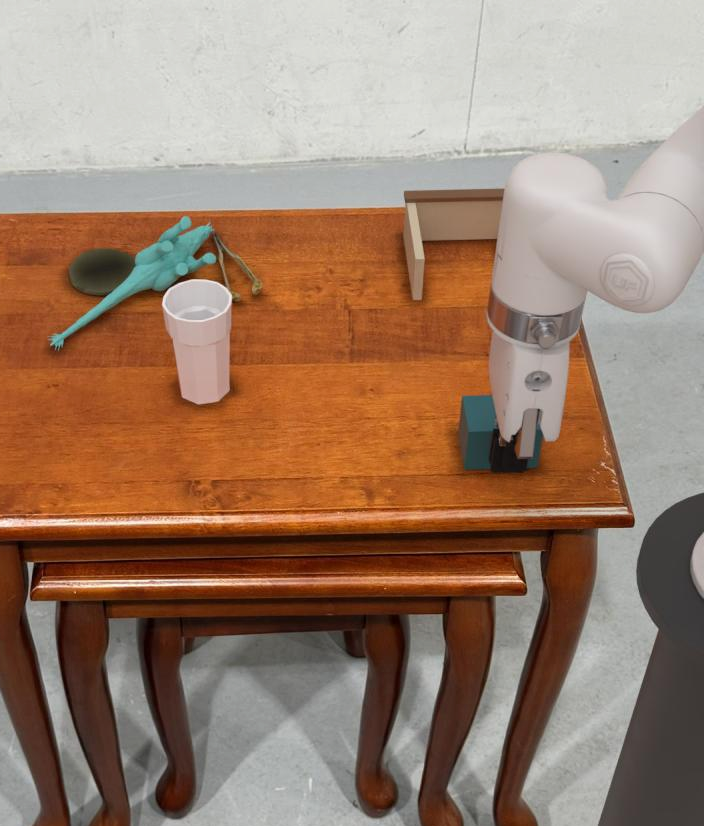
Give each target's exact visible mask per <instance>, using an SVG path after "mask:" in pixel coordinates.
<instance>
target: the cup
mask: <svg viewBox="0 0 704 826" xmlns="http://www.w3.org/2000/svg"><path fill="white" fill-rule="evenodd" d="M161 307H162V313H163V320H164V324H165V330H166V331H167V333H168V335H169V336H170V338H171V342H172V343H171V344H172V347H173V348H172V349H173V353H174V355H173V356H174V360H175V367H176V371H177V378H178V387H179V390H180V395H181V398H183V399H184V400H187V401H189V402H191V403H194V404H196V405H198V406H199V405H204V404H205V405H206V404H211V403H213V404H214V403H218V402H220V401H221V400H222V399H223V398H224V397H225V396H226V395H227V394H228V393H229V392H230V391H231V389H230V385H231V384H230V351H231V350H230V349H231V348H230V347H231V343H230V342H231V341H230V340H231V339H230V338H231V337H230V336H231V334H230V333H231V330H232V325H233V324H232V323H233V299H232V295H231V293H230V292H229V291H228V289H227V288H226V286H224V285H223V284H221V283H220V282H219V281H214V280H209V279H199V278H198V279H189V280H185V281H181V282H178V283H176V284H174V285H173V286H170V287H168V288H167V291H166V292H165V294H164V295H163V297H162V302H161Z"/></svg>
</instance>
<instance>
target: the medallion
mask: <svg viewBox="0 0 704 826" xmlns="http://www.w3.org/2000/svg"><path fill="white" fill-rule="evenodd" d="M135 258H136V257H134V256H132V254H129V253H127V252H125V251H122V250H118V249H113V248H103V247H102V248H93V249H89V250H87V251H85V252H83V253H81V254H79V255H77V257H75V258H74V259H73V260H72V262H71V263H70V264H69V268H68V276H69V278H68V279H69V281H70V283H71V285H72V286H73V287H74V289H76V290H77V291H79V292H81V293H83V294H87V295H91V296H108V295H109V294H110V293H112V292H113V291H114V290H115V289H116V288H117V287H118V286H119V285H121V284H122V283H123V282H124V281H125V280H126V279H127V278H128V277H129V275H130V274H131V272H132V271H133V269H134V268H135V267H136V264H135Z"/></svg>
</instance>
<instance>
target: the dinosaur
mask: <svg viewBox="0 0 704 826" xmlns="http://www.w3.org/2000/svg"><path fill="white" fill-rule="evenodd" d="M210 225H211V222H210V221H209V222H208V223H207V224H206V225H200V226H197V227H196V228H194V229H192V230H189V229H190V228H191V226H192V219H191V218H190V217H189V216H187V215H184V216H182V217H181V219H180V221H179V222H177V223H175V225H173V226H172V227H170V228H168V229H167V230H165V231H164V232H163V233H161V235H160V237H159V238H158V239H157V242H155V243H153V244H151V245H150V246H148V247H146V248H144V249H141V250H140V251H139V252H137V253H136V255H135V257H134V258H135V264H136V267H135V268H134V269H133V271H132V272H131V274H130V275H129V277H128V278H127V279H126V280H125V281H124V282H123V283H122V284H121V285H119V286H118V287H117V288H116V289H115V290H114V291H113V292H112V293H110V294H107V295H105V297H104V298H103V299H102V300H101V301H100V302H98V304H97V305H95V306H94V307H92V308H91V309H89V310H88V311H87V312H86V313H84V315H82V316H81V317H79V318H78V319H77V320H76V322H74V323H73V324H72V325H70V326H69V327H67V329H66V330H64V331H63V332H62V333H60V334H59V333H52V335H49V336H48V338H49V339H47V341H51V343H50V347H53V346H55V348H54V351H56V350H57V351H59V350H60V347H63V346H64V340H65V339H66V338H68V337H69V336H71V335H73V334H74V333H75V332H77V331H78V330H80V329H81V328H84V327H85V326H87V325H88V324H89V323H91V322H92V321H94V320H96V319H97V318H98V317H99V316H100V315H102V314H104V313H105V312H107V311H109V310H110V309H112V308H114V307H116V306H117V305H118V304H120V303H122V302H123V301H125V300H126V299H128V298H130V297H131V296H134V295H135V294H137V293H139V292H143V291H147V290H150V289H152V290H153V291H155V292H164V291H166V290H167V289H169V288H170V287H172V285H173V284H174V283H175V282H177V281H178V280H179V278H181V277H183V276H185V275H189V274H192V273H195V272H197V271H198V270H199V269H202V268H204V267H205V266H207V265H214V264H216V263H217V256H216V255H215V254H213V252H207V253H205V254H204V255H202V256H201V257H200V258H198V259H196V258H195V257H194V255H195V253H196V252H197V251H198V250H199V249H200V247H201V246H202V245H203V243H204V242H206V241H207V240H208V239H209V238H210V234H211V232H212V233H213V232H215V230H216V229H215V228H213V225H211V226H210ZM187 230H189V231H187ZM185 231H187V232H185ZM183 232H185V233H184V234H181V233H183ZM179 234H180V235H179ZM57 348H58V349H57Z"/></svg>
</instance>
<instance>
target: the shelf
mask: <svg viewBox="0 0 704 826" xmlns="http://www.w3.org/2000/svg"><path fill="white" fill-rule="evenodd" d="M504 190H505V187H504V188H466V189H465V188H463V189H460V188H459V189H421V190H419V189H418V190H404V191H403V199H404V215H403V217H404V218H403V232H402V233H403V234H402V237H403V244H404V250H405V257H406V258H405V259H406V265H407V271H408V278H409V284H410V292H411V299H412V301H422V299H423V290H424V273H425V272H424V271H425V262H426V258H425V253H424V246H423V242H428V241H429V242H431V241H470V240H471V241H473V240H497V238H498V231H499V224H500V217H501V210H502V203H503V196H504Z"/></svg>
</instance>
